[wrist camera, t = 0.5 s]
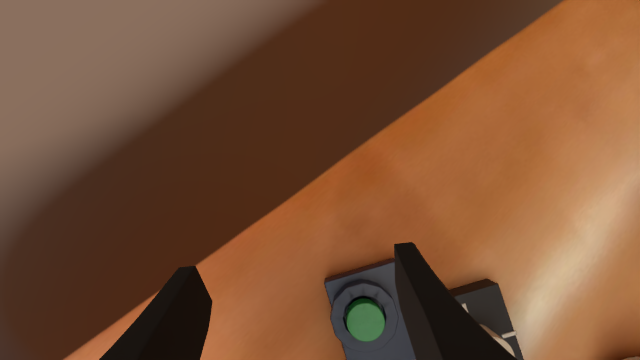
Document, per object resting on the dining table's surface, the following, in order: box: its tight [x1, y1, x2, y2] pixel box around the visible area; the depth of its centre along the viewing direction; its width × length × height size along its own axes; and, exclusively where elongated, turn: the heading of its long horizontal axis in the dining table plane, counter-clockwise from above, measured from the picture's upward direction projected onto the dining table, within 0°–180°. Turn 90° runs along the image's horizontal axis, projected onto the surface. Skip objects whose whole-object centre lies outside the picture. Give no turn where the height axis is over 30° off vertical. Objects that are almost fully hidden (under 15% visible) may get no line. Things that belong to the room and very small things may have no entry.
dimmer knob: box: [480, 324, 515, 357], centre depth 33 cm, size 4×4×4 cm
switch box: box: [324, 258, 416, 360], centre depth 36 cm, size 10×8×4 cm
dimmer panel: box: [449, 279, 524, 360], centre depth 36 cm, size 10×8×3 cm
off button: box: [346, 298, 385, 342], centre depth 34 cm, size 4×4×2 cm
